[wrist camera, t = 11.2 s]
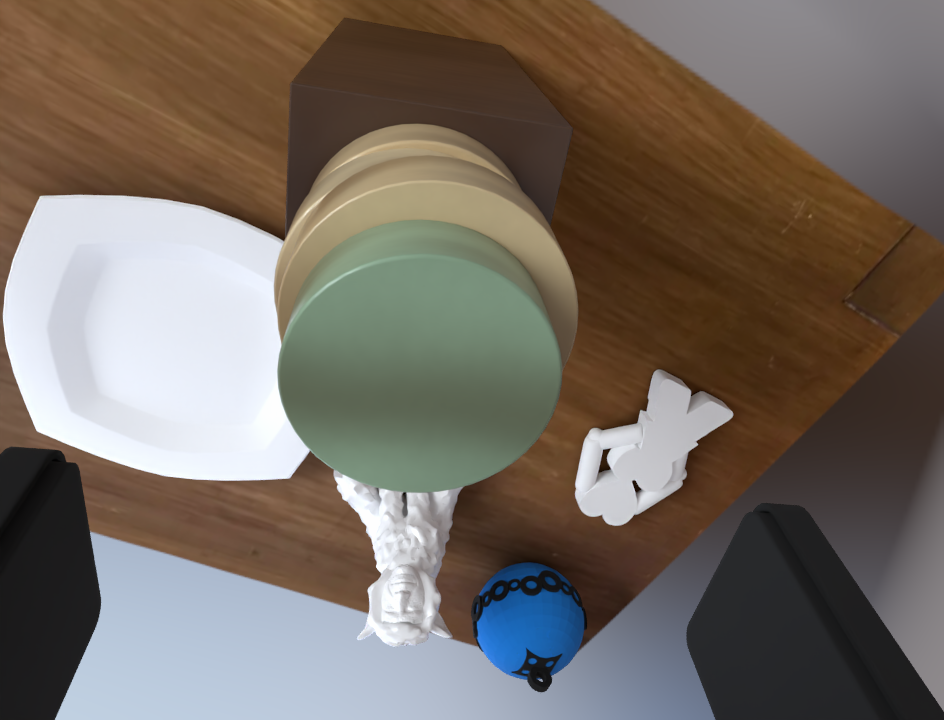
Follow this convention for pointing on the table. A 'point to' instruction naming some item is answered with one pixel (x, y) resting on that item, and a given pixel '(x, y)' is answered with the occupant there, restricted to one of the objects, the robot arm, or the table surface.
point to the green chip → (419, 358)
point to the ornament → (529, 622)
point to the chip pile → (425, 211)
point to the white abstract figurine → (646, 451)
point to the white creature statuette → (403, 558)
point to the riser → (421, 104)
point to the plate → (151, 336)
